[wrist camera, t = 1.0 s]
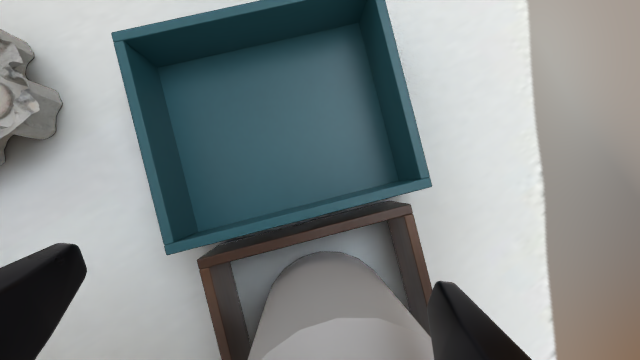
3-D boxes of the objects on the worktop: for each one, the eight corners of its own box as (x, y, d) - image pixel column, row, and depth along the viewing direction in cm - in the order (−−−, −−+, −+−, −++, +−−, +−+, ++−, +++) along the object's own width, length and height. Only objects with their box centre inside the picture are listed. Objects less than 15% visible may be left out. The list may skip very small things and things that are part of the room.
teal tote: (406, 186, 20) (432, 186, 16) (195, 240, 19) (166, 255, 15) (363, 17, 20) (378, -26, 16) (151, 64, 19) (110, 32, 15)
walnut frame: (433, 370, 20) (464, 414, 16) (261, 421, 19) (251, 479, 15) (390, 200, 20) (410, 203, 16) (217, 245, 19) (196, 259, 15)
